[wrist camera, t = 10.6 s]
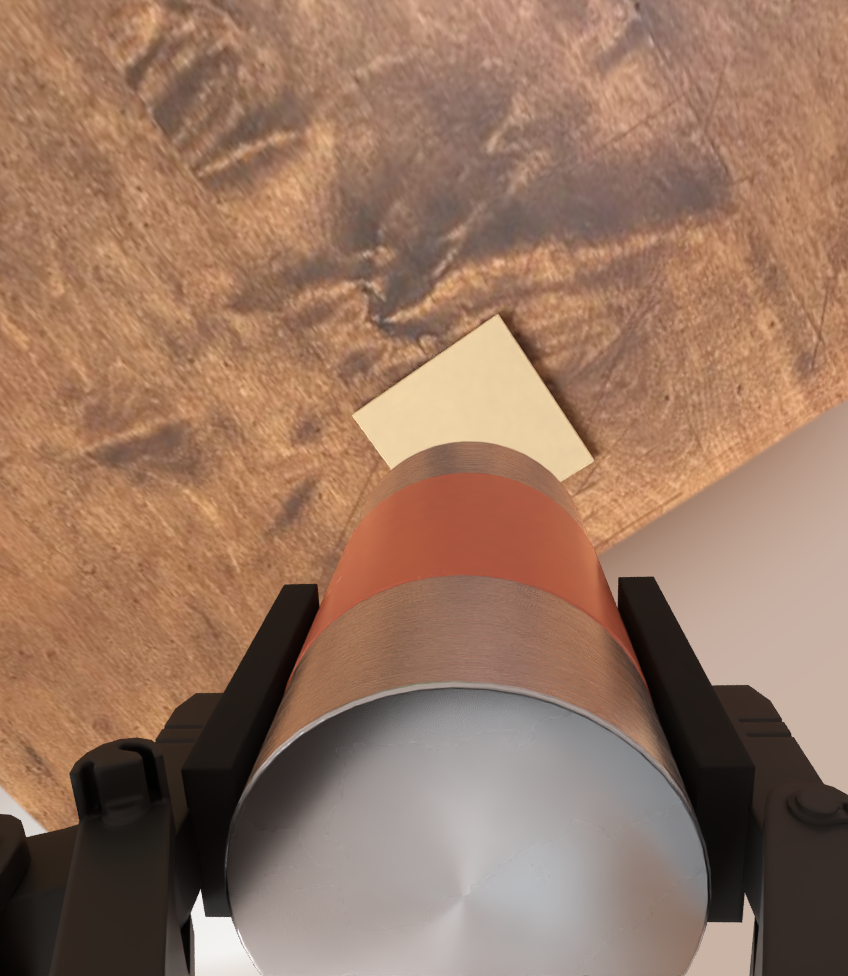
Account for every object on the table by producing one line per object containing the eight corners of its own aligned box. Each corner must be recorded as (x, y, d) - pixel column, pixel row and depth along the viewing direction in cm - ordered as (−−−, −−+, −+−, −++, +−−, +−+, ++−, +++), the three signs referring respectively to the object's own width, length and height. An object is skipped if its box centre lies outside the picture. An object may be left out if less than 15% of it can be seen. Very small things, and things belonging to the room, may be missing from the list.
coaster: (498, 312, 34) (498, 313, 34) (593, 458, 36) (594, 460, 36) (352, 413, 36) (351, 415, 36) (450, 547, 38) (450, 551, 38)
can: (587, 434, 21) (731, 677, 9) (585, 653, 23) (701, 1085, 11) (345, 443, 22) (188, 684, 10) (362, 657, 24) (250, 1073, 12)
